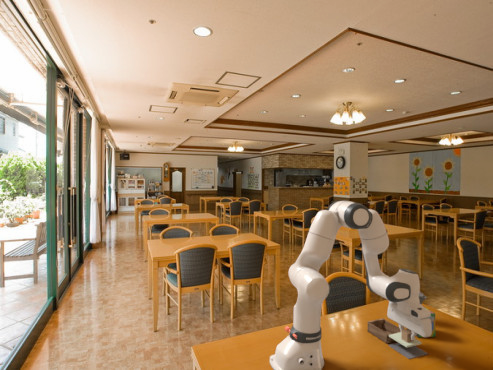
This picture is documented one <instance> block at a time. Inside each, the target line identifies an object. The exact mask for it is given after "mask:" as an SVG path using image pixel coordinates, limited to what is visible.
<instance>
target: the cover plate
mask: <svg viewBox="0 0 493 370" xmlns="http://www.w3.org/2000/svg"><path fill="white" fill-rule="evenodd" d="M404 329H405V330H402V334H401V332H399V333H395V334H391V335H389V337H390V338H392V339H394V340H395V341H396V343H400V344H402V345H403V346H405V347H411V346H419V345H422V341H420V340H419V339H418V338H415V340H411V339H409V335H412V333H411V330H410V329H407V328H404Z"/></svg>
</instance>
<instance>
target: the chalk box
mask: <svg viewBox="0 0 493 370" xmlns="http://www.w3.org/2000/svg"><path fill="white" fill-rule="evenodd" d="M423 307H424V308H426V309H427V310H428V311H429V312H430V313H431V316H430V317H429V318H430V320H431V324H432V334H431V336H429V337H428V338H435V337H436V333H437V331H436V313H435V312H433V311H432V310H431V309H428V308H427V307H425V306H423ZM406 329H408V328H406ZM415 337H417V339H419V338H424V337H423V336H421V335H419V334H417V335H416V336H415Z"/></svg>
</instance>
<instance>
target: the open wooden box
mask: <svg viewBox="0 0 493 370" xmlns="http://www.w3.org/2000/svg"><path fill="white" fill-rule="evenodd" d="M367 332H368V333H370V334H371V335H372V336H374V337H375V338H377V339H379V340H380V341H382V342H383V343H384V344H387V345H389V344H393V343H394V342H395V343H397V341H395V340H394V339H392V338H390V337H389V335H391V334H395V333H399V332H401V330H400V328H399V326H397V325H395V324H394V323H392V322H390V321H388V320H386V319H385V318H378V319H372V320H368V321H367Z"/></svg>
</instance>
